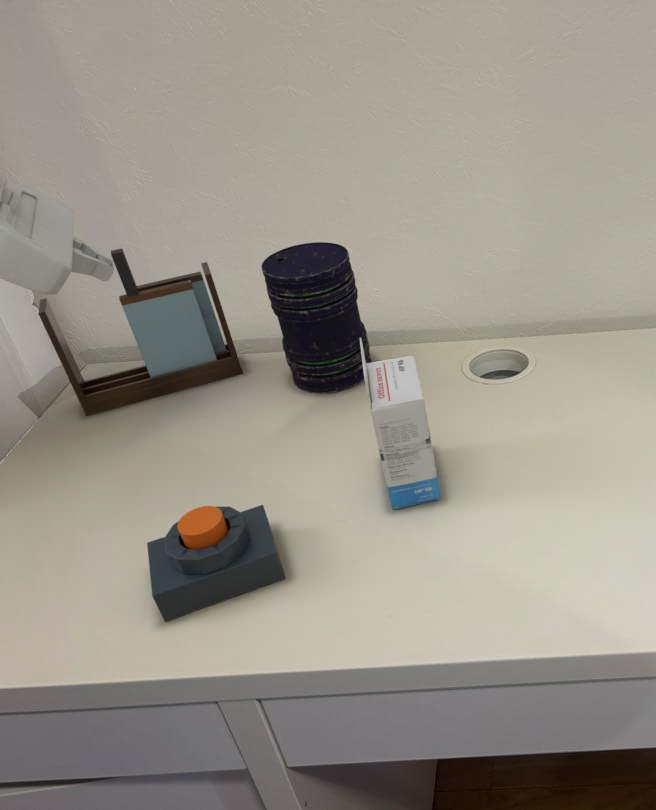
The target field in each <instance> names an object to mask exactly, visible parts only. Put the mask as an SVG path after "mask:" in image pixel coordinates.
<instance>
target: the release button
mask: <svg viewBox="0 0 656 810" xmlns="http://www.w3.org/2000/svg"><path fill="white" fill-rule="evenodd" d="M217 507H218V506H214V505H203V506H198V507H195V508H193V509H191V510H189V511H187V512H186V513H185V514H183V516H181V518H179V520H178V521H179V522H178V521H177V522H178V531H179V533H180V535H181V537H182V540H183V542H184V544H185V546H186V547H187V548H189V549H203V548H206V547H209V546H212V545H215V544H216V543H218V542H219V541H220V540H222V539H223V538H224V537H225V536H226V534H227V532H228V527H227V524H226V522H225V519H224V517H223V514H222V511H221V510H220V509H219V508H217Z"/></svg>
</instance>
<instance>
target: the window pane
mask: <svg viewBox="0 0 656 810" xmlns="http://www.w3.org/2000/svg"><path fill="white" fill-rule="evenodd" d="M110 256H111V259H112V260H113V264H114V266H115V268H116V271H117V274H118V276H119V278H120V281H121V284H122V286H123V289H124V291H125V294H122V295H119V296H118V299H119V302H120V305H121V307H122V310H123V312H124V315H125V317H126V320H127V322H128V325H129V327H130V330H131V332H132V334H133V337H134V339H135V342H136V344H137V347H138V350H139V352H140V354H141V357H142V359H143V362H144V364H145V365H146V367H147V370H148V372H149V375H150V377H151V378H152V377H155V376H159V375H163V374H167V373H171V372H174V371H178V370H182V369H186V368H189V367H193V366H197V365H201V364H205V363H208V362H212V361H216V360H217V358H216V355H215V352H214V349H213V346H212V343H211V340H210V337H209V334H208V331H207V328H206V325H205V322H204V319H203V316H202V313H201V310H200V307H199V305H198V302H197V299H196V296H195V293H194V290H193V287H192V284H191V281H190V280H187V281H182V282H178V283H174V284H169V285H165V286H161V287H156V288H152V289H148V290H143V291H139V292H138V288H137V286H138V285H137V282H136V281H135V277H134V274H133V273H132V270H131V267H130V265H129V262H128V259H127V257H126V255H125V251H124V250H123V248H117V249H113V250H110Z"/></svg>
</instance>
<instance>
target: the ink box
mask: <svg viewBox="0 0 656 810" xmlns="http://www.w3.org/2000/svg"><path fill="white" fill-rule="evenodd" d="M360 347H361V355H362V363H363V372H364V384H365V390H366V395H367V400H368V401H367V402H368V406H369V412H370V417H371V421H372V425H373V430H374V434H375V438H376V444H377V447H378V452H379V456H380V462H381V466H382V471H383V476H384V481H385V484H386V487H387V493H388V497H389V503H390V507H391V509H392V510H397V509H403V508H406V507H412V506H415V505H421V504H425V503H429V502H433V501H434V502H435V501H439V500H440V499H441V493H440V486H439V480H438V474H437V467H436V461H435V455H434V450H433V444H432V436H431V432H430V425H429V420H428V414H427V409H426V402H425V397H424V392H423V388H422V383H421V378H420V375H419V370H418V366H417V362H416V359H415V356H414V355H407V356H402V357H396V358H390V359H384V360H379V361H372V363H367V364H366V360H365V355H364V349H363V344H362V339H361V337H360Z"/></svg>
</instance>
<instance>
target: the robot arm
mask: <svg viewBox="0 0 656 810" xmlns="http://www.w3.org/2000/svg"><path fill="white" fill-rule="evenodd" d="M74 224H75V212H74V210H72V209H71V208H70V207H69V206H67V205H66V204H64V203H63V202H61V201H59V200H57V199H55V198H52V197H50V196H49V195H46V194H44V193H42V192H41V191H38V190H36V189H33V188H32V187H31V188H30V187H29V186H26V185H24V184H22V183H19V182H16V181H13V180H9V175H8V173H6V172H4V171H2V170H0V279H1V280H3V281H6V282H8V283H11V284H13V285H16V286H19V287H21V288H24V289H26V290H29V291H32V292H36V293H38V294H42V295H52V296H53V295H58V294H59V293H60V291H61V289H62V288H63V286H64V285H65V283H66V281H67V280H68V278H69V276H70V274H71V272H72V273H74V274H75V273H76V274H79V275H85V276H91V277H92V278H93V277H94V278H96V279H98V280H100V281H102V282H108V281H109V280H110V279H111V278H112V276H113V274H114V272H115V269H114V261H113V258H112V257H111V258H110V257H109V256H107V255H104V254H102V253H100V252H99V251H98V250H97V249H95V248H94V247H92V246H91V245H90V244H89V243H87V242H86V241H84V240H83V239H81V238H79V237H77V236H75V235H74V228H75V227H74Z"/></svg>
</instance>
